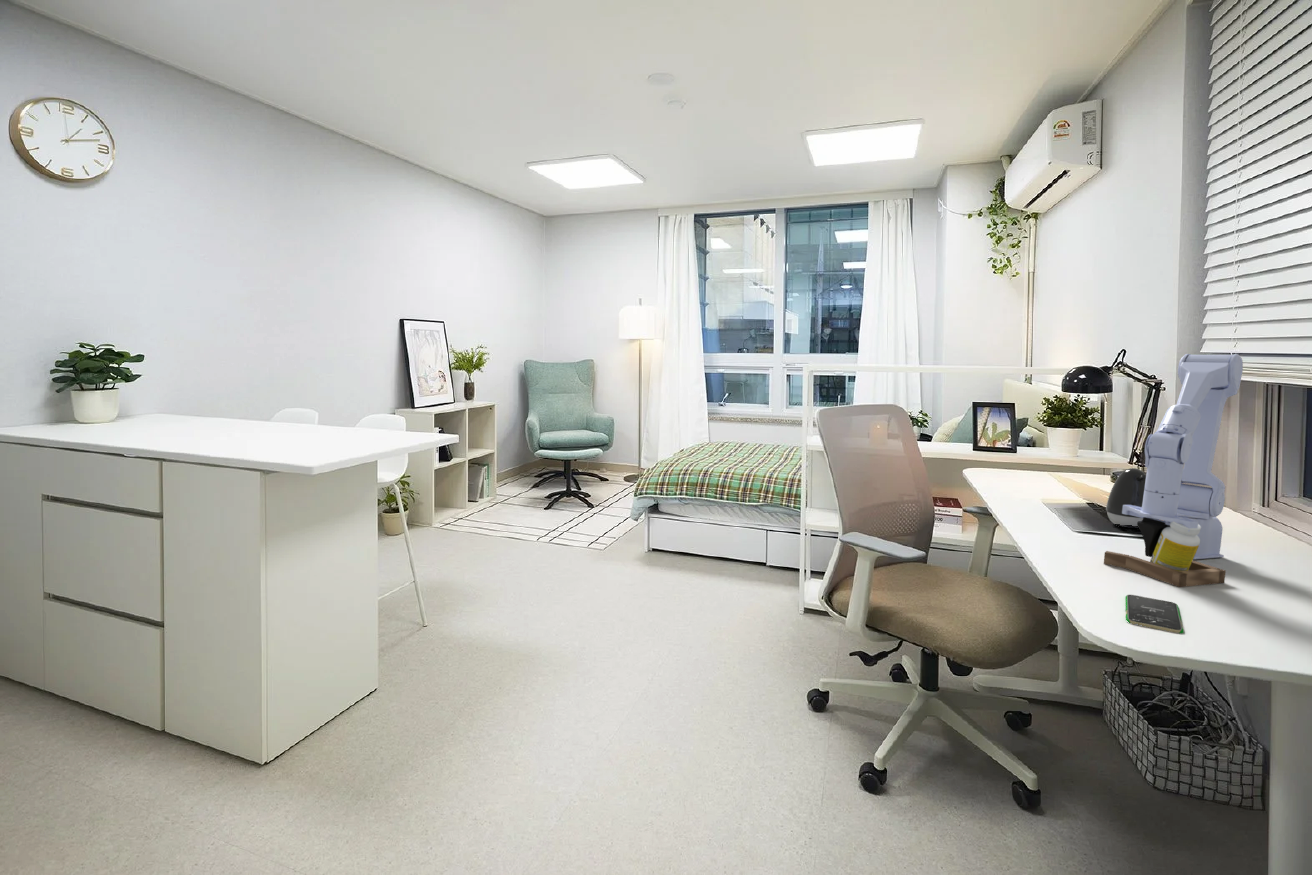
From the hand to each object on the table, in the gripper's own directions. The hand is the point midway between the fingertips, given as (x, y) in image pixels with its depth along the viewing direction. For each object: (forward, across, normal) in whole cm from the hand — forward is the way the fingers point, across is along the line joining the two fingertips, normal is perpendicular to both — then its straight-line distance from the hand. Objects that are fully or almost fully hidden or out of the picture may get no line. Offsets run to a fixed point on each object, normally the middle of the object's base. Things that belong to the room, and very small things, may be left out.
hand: (1152, 556), depth 136 cm
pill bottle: (+2, +2, +1) cm, 4 cm away
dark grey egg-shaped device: (+2, -29, +27) cm, 40 cm away
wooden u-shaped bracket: (+3, +2, +1) cm, 3 cm away
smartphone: (+4, +19, -22) cm, 29 cm away
